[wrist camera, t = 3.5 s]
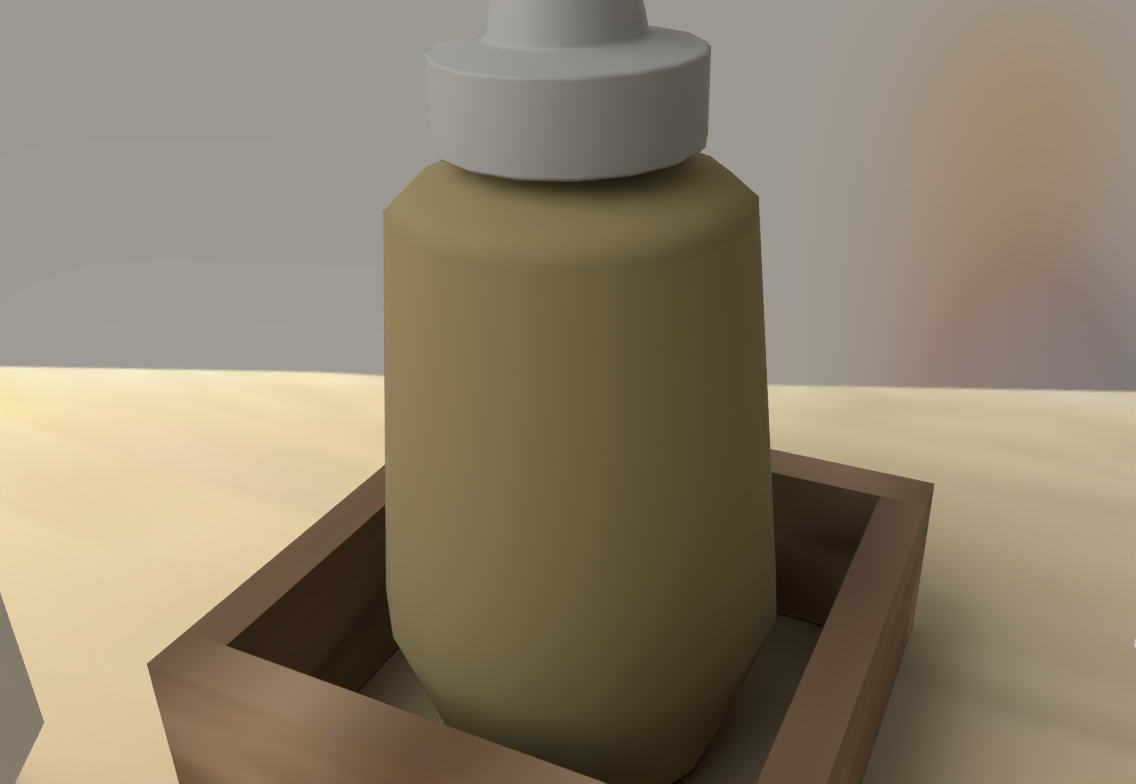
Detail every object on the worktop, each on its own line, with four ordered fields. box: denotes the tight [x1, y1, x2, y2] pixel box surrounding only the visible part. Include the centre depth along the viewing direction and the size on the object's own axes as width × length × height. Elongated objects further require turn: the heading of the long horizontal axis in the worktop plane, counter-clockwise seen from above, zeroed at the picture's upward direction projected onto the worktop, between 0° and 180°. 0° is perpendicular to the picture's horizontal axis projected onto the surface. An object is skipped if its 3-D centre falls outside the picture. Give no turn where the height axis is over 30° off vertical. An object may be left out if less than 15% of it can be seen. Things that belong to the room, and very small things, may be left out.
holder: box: [147, 449, 934, 784], centre depth 23 cm, size 12×12×4 cm
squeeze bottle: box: [383, 0, 777, 784], centre depth 20 cm, size 8×8×18 cm
